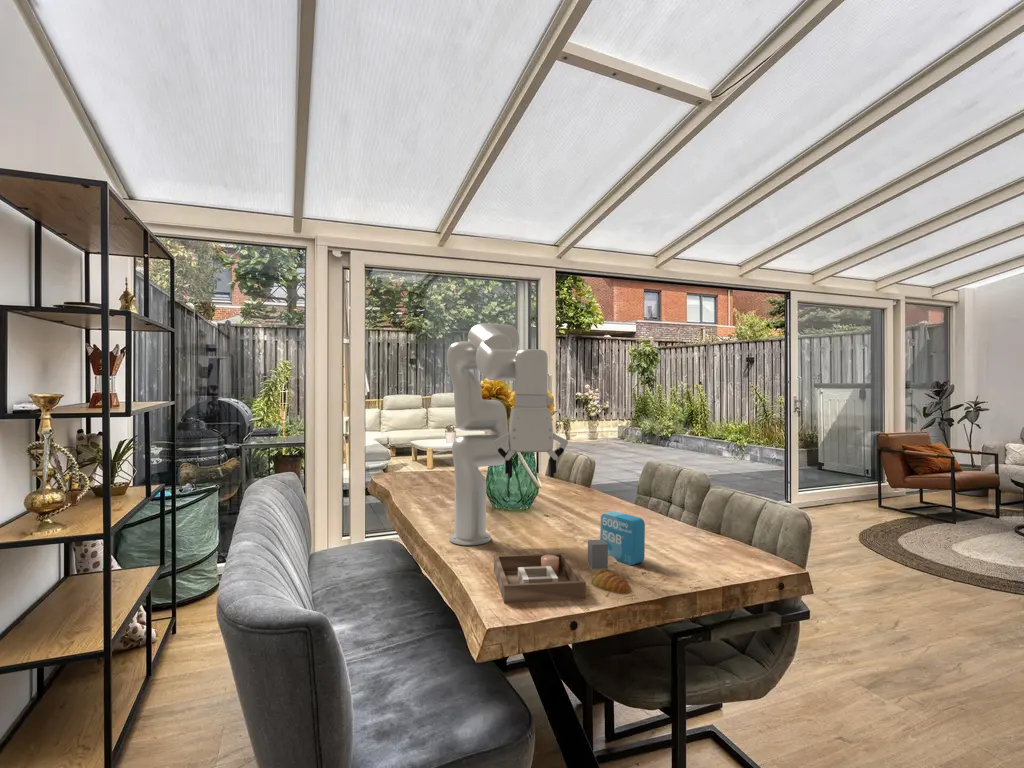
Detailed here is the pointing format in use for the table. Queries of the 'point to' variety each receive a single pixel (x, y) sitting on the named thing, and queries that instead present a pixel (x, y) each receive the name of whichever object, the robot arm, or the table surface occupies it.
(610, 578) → the pastry
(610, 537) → the data package
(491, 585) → the table surface
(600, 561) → the gray block
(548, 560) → the ball
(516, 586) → the crate
